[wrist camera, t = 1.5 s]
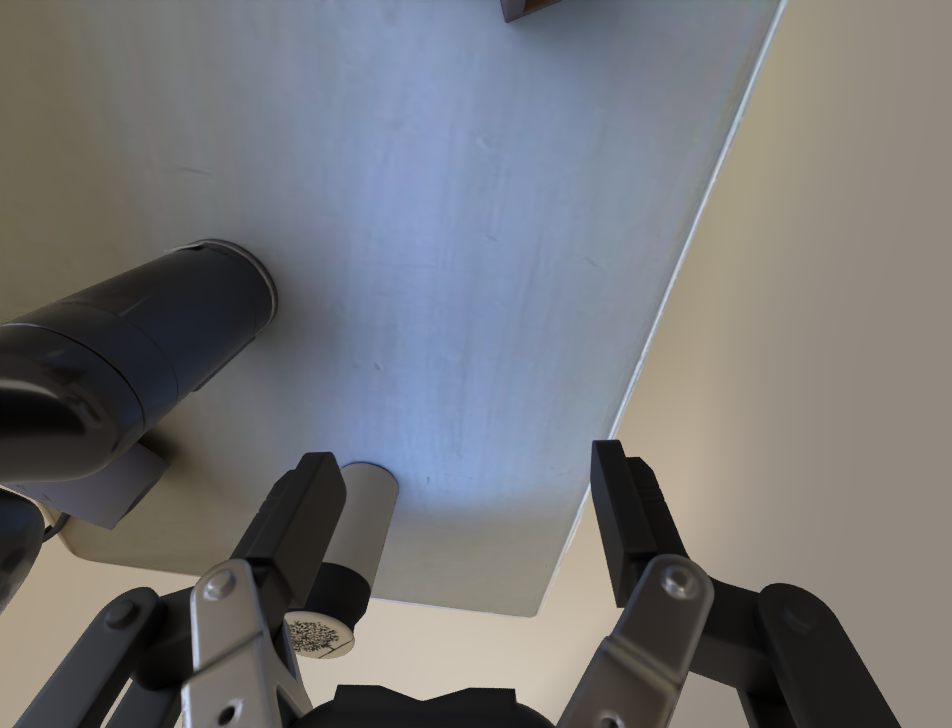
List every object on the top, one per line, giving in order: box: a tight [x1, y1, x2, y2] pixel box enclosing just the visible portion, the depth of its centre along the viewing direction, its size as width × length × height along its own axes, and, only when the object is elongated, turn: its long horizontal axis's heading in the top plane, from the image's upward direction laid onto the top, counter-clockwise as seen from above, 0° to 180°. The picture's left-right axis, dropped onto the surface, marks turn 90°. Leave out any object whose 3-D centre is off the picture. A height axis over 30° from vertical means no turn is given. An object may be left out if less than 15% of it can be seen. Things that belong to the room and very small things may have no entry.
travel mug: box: [284, 463, 398, 659], centre depth 44 cm, size 8×8×18 cm
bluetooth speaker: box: [0, 442, 170, 530], centre depth 44 cm, size 23×9×10 cm, turn 46°
